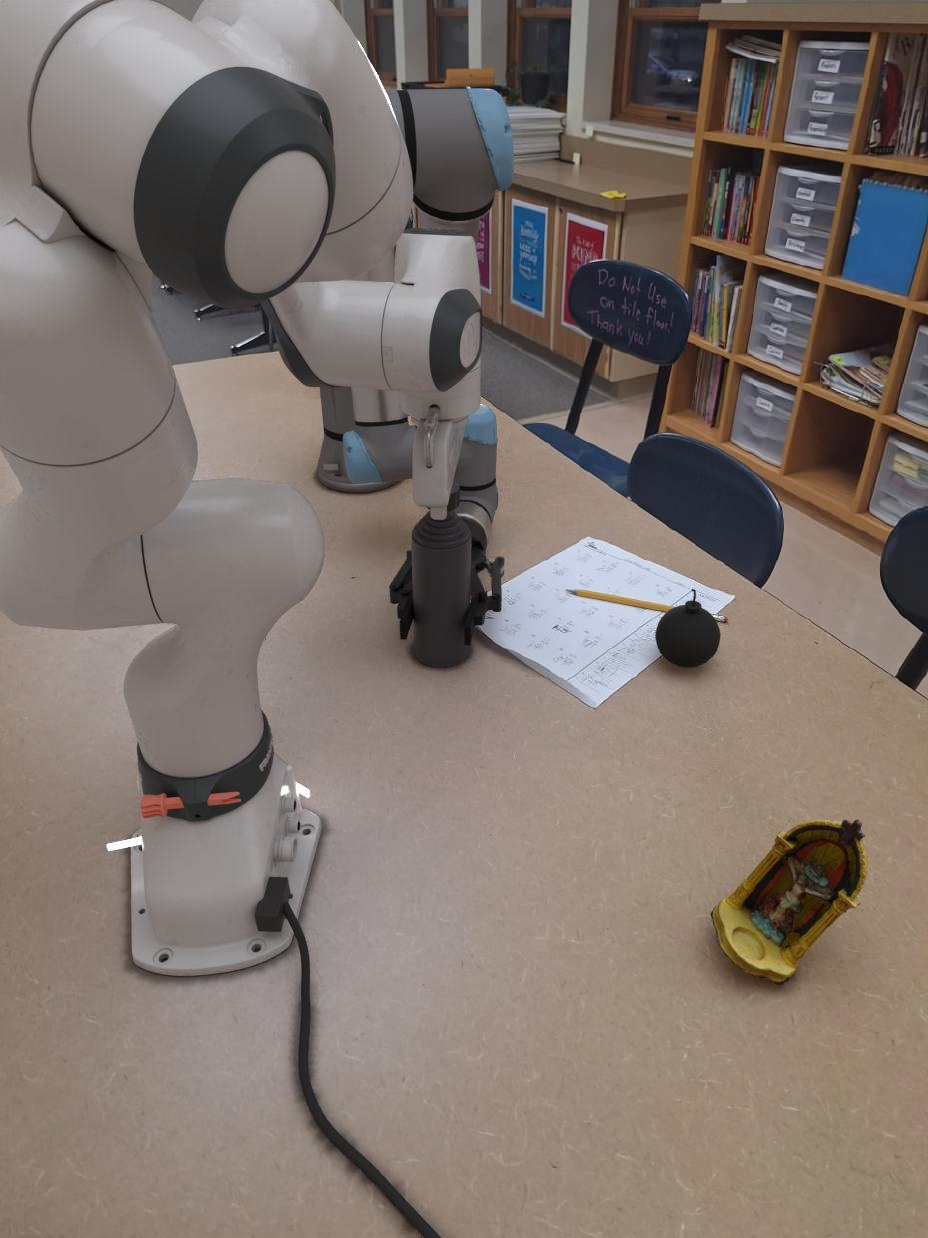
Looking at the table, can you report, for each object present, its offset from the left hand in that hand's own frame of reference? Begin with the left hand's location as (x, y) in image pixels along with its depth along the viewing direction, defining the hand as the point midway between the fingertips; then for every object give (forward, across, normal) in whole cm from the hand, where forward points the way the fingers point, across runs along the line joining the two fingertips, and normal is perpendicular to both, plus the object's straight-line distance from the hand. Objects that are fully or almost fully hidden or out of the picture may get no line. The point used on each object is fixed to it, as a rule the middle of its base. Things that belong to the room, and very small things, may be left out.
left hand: (442, 505), depth 100 cm
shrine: (+22, -40, -33) cm, 57 cm away
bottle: (+21, 0, 0) cm, 21 cm away
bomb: (+22, +1, -31) cm, 37 cm away
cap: (-2, 0, 0) cm, 2 cm away
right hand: (+15, -5, +1) cm, 16 cm away
